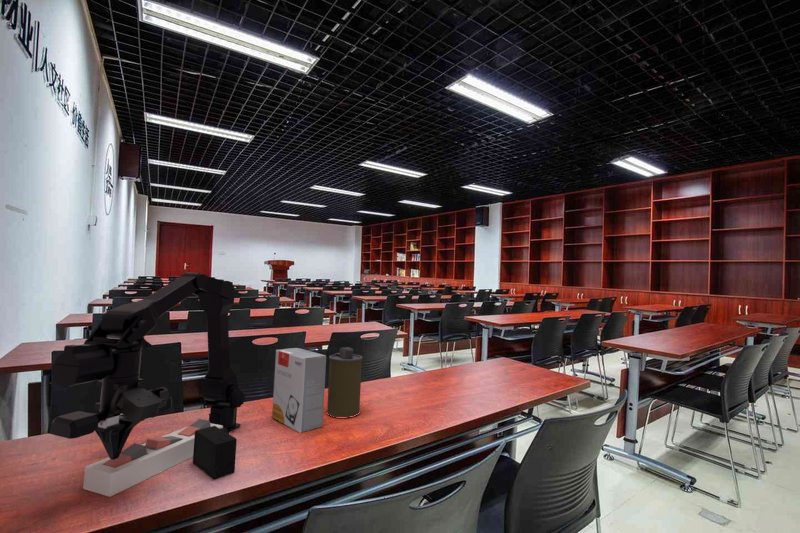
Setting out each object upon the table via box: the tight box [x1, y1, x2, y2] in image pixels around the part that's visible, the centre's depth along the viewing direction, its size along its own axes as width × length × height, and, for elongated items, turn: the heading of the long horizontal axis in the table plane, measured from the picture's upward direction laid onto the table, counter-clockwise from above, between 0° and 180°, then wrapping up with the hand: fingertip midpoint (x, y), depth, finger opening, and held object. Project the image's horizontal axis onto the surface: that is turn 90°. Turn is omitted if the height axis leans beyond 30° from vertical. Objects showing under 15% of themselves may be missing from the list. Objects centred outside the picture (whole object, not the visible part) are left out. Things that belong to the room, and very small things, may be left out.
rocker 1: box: [103, 443, 147, 468], centre depth 72 cm, size 6×3×1 cm, turn 162°
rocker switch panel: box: [82, 423, 223, 498], centre depth 81 cm, size 29×7×4 cm, turn 161°
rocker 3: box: [178, 418, 210, 437], centre depth 87 cm, size 6×3×1 cm, turn 162°
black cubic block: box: [192, 426, 238, 481], centre depth 79 cm, size 10×5×7 cm, turn 50°
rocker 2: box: [145, 436, 182, 449], centre depth 80 cm, size 6×3×1 cm, turn 161°
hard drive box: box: [271, 347, 327, 434], centre depth 107 cm, size 16×8×20 cm, turn 47°
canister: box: [326, 346, 364, 417], centre depth 117 cm, size 11×10×20 cm
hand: (114, 458), depth 70 cm, fingers closed
